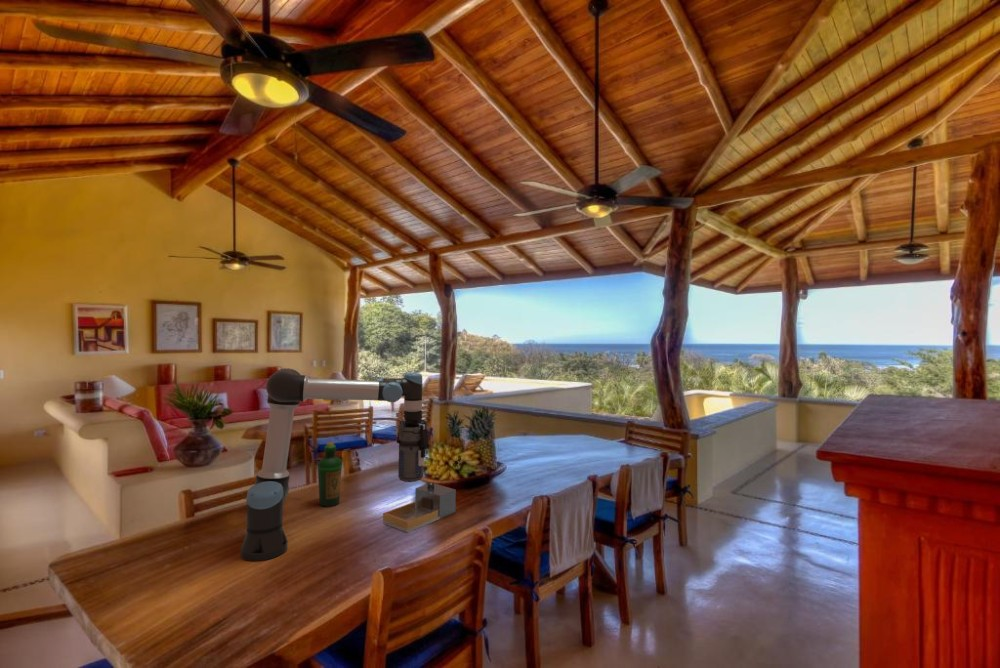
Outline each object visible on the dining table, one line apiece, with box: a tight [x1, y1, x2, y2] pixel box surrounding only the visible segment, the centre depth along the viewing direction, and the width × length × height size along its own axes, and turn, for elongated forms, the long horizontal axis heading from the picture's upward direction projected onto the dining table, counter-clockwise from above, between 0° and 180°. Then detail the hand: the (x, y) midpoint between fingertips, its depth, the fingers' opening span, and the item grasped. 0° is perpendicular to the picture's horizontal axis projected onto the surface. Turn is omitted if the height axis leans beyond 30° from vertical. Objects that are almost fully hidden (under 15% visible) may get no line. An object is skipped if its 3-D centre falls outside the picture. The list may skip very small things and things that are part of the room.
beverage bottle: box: [397, 418, 427, 483], centre depth 201 cm, size 10×13×25 cm
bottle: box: [317, 441, 343, 507], centre depth 220 cm, size 11×11×28 cm
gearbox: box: [382, 481, 457, 533], centre depth 205 cm, size 28×15×12 cm, turn 143°
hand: (412, 462), depth 201 cm, fingers closed on beverage bottle, 10 cm apart
